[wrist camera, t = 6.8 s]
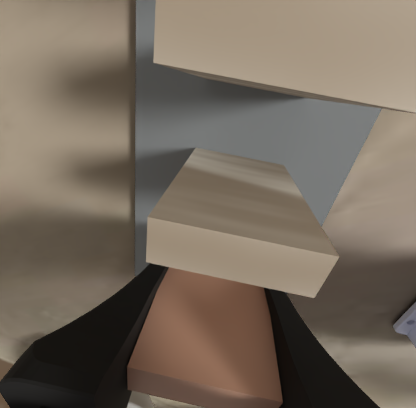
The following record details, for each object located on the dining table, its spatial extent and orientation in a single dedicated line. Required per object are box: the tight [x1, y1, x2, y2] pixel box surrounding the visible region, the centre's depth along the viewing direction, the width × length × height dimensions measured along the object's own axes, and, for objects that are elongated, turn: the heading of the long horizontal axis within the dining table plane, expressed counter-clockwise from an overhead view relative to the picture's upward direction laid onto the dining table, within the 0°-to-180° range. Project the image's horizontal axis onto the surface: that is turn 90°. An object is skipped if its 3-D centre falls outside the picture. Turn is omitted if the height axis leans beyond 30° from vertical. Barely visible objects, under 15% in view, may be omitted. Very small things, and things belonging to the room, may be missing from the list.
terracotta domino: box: [127, 267, 283, 408], centre depth 10 cm, size 2×5×8 cm, turn 80°
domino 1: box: [153, 0, 416, 113], centre depth 7 cm, size 2×5×8 cm, turn 80°
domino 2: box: [146, 148, 339, 298], centre depth 9 cm, size 2×5×8 cm, turn 80°
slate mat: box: [135, 0, 381, 294], centre depth 10 cm, size 31×12×1 cm, turn 170°
